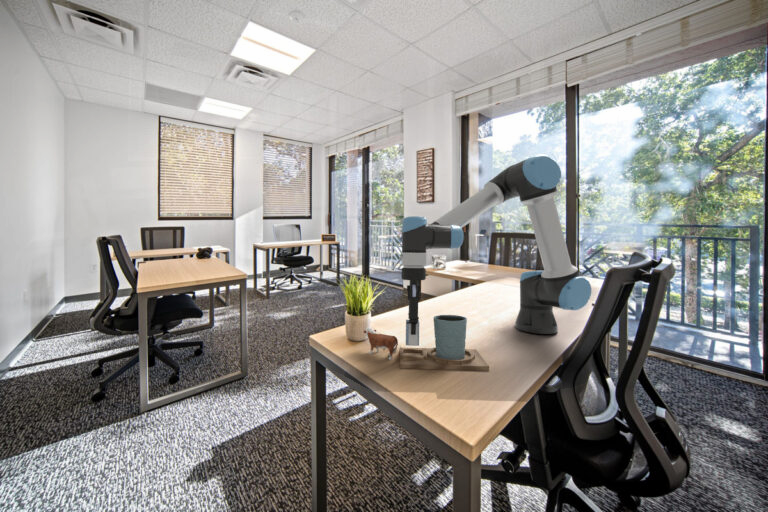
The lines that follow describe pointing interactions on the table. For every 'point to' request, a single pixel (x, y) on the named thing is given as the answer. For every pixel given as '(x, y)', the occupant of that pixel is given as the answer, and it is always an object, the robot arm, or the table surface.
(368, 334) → the bull figurine
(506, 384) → the table surface
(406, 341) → the block
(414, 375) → the table surface
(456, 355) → the teal cup
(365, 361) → the table surface
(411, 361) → the jig
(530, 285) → the robot arm
